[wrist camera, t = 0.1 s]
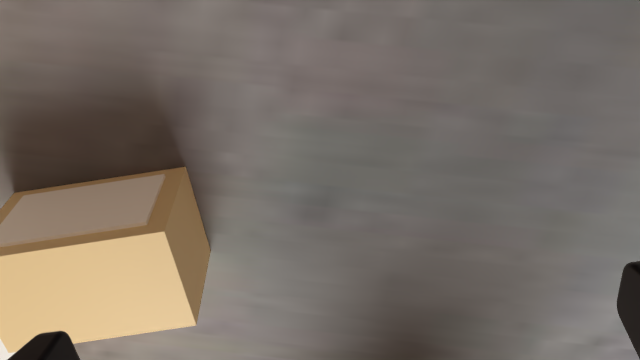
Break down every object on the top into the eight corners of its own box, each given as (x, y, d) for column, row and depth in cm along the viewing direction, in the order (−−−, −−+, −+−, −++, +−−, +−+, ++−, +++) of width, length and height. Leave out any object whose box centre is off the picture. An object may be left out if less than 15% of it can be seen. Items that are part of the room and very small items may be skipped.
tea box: (210, 249, 26) (196, 325, 22) (54, 272, 26) (8, 352, 22) (185, 162, 24) (163, 228, 19) (13, 188, 24) (-47, 259, 20)
